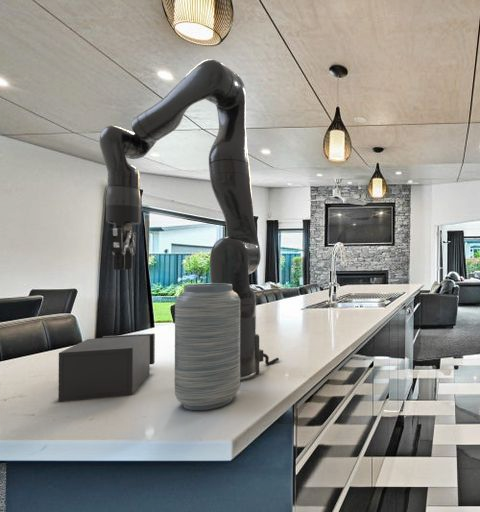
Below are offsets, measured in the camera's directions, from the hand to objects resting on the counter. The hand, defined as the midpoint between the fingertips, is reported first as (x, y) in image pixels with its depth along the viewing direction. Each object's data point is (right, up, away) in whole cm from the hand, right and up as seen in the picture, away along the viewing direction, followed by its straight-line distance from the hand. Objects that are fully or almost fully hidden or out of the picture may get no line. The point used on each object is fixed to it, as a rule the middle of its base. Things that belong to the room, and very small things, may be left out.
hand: (123, 269), depth 101 cm
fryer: (+8, -25, -16) cm, 31 cm away
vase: (+34, -25, -26) cm, 49 cm away
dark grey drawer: (+4, -25, -6) cm, 26 cm away
